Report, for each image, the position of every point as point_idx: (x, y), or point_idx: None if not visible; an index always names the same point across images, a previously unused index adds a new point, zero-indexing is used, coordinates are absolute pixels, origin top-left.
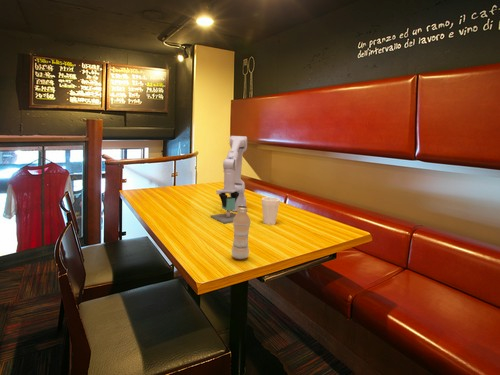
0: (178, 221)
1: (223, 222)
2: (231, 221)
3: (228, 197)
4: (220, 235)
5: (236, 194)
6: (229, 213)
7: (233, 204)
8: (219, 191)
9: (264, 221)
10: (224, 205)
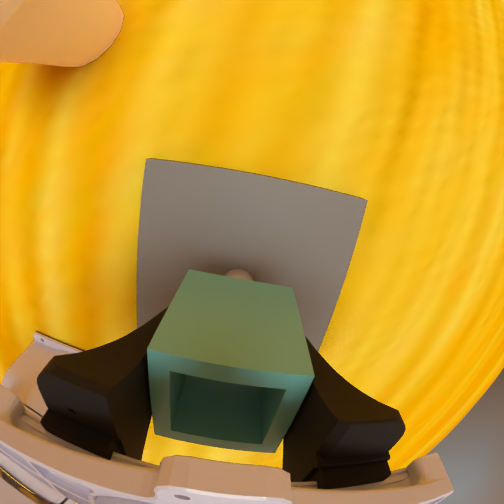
0: (450, 370)
1: (362, 208)
2: (298, 183)
3: (191, 431)
4: (487, 82)
5: (101, 385)
6: None
7: (197, 302)
8: (439, 489)
9: (115, 23)
10: (307, 343)
